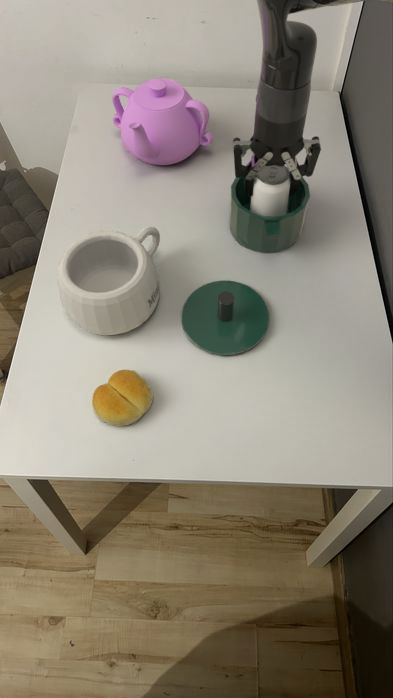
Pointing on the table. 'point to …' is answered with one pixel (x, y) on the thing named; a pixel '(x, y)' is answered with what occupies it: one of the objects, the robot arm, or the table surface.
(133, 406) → the bread roll
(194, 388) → the table surface
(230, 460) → the table surface
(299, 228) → the pot
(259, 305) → the lid
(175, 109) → the teapot
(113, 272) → the mug
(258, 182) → the can
